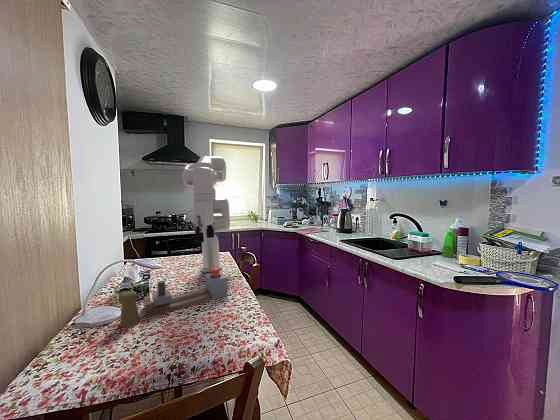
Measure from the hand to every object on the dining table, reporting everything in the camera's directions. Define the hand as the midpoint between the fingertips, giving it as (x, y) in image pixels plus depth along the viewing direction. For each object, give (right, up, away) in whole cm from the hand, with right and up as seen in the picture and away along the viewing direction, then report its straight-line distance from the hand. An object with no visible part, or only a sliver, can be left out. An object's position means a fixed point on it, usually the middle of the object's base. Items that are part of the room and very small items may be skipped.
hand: (205, 239), depth 96 cm
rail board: (-11, -26, +1) cm, 29 cm away
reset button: (+2, -18, +9) cm, 20 cm away
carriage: (-16, -25, -3) cm, 30 cm away
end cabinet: (+2, -25, +10) cm, 27 cm away
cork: (-23, -28, -13) cm, 38 cm away
